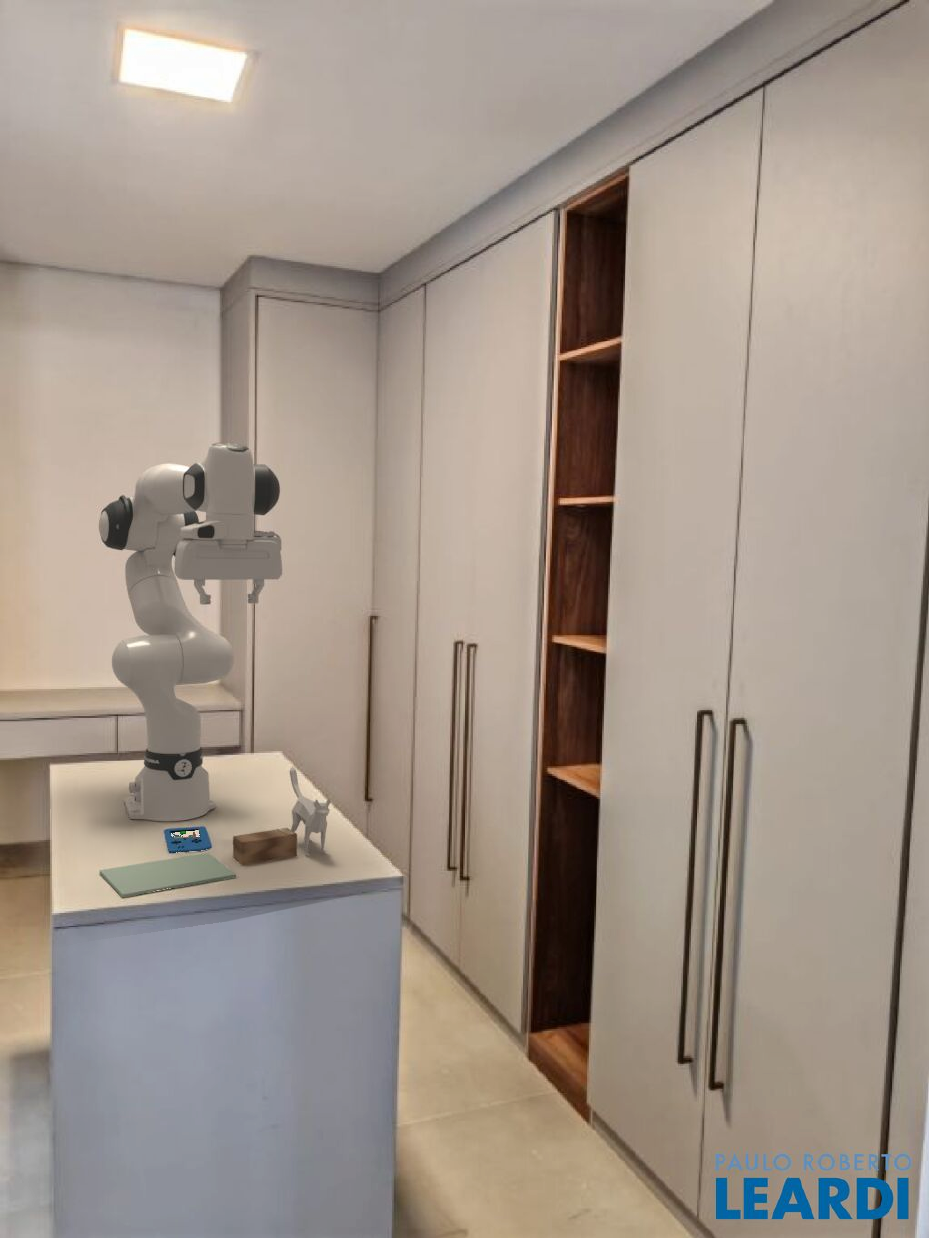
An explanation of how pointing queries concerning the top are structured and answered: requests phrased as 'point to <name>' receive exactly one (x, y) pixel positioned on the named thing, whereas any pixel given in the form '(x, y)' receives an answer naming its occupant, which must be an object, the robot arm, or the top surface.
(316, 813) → the cat figurine
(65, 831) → the top surface
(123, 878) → the rubber mat
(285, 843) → the walnut block
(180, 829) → the handheld gaming device
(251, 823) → the top surface
